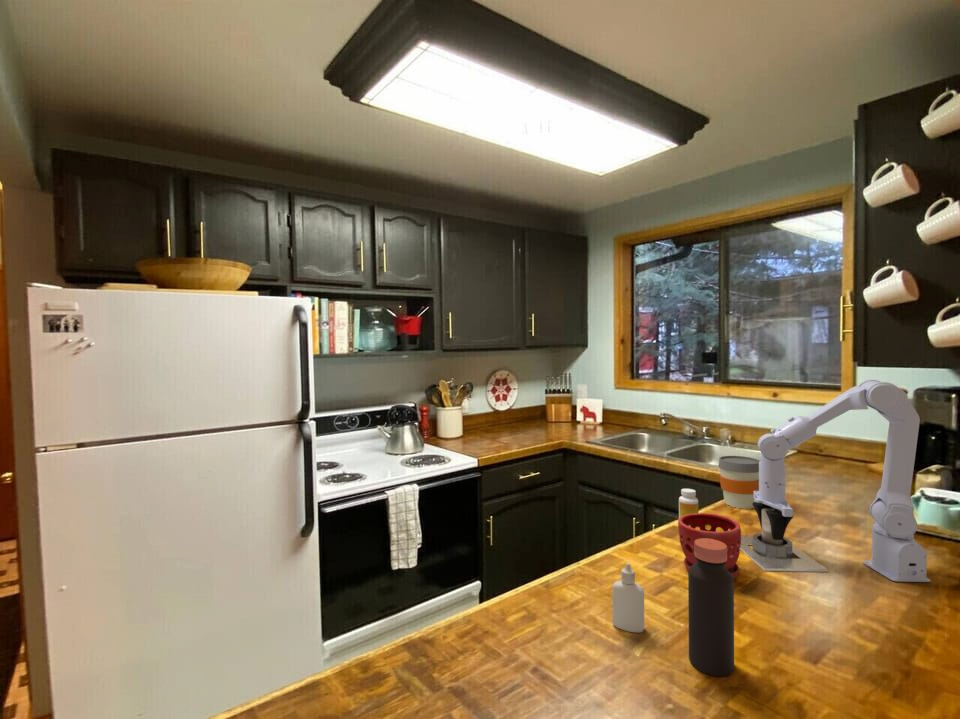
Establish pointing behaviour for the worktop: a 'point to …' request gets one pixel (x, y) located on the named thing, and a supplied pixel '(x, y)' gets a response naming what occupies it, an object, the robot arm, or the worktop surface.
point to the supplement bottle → (688, 502)
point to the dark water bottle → (711, 609)
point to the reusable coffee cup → (739, 480)
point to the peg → (768, 530)
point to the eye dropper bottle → (628, 602)
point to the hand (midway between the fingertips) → (772, 535)
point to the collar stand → (778, 555)
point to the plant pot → (710, 536)
